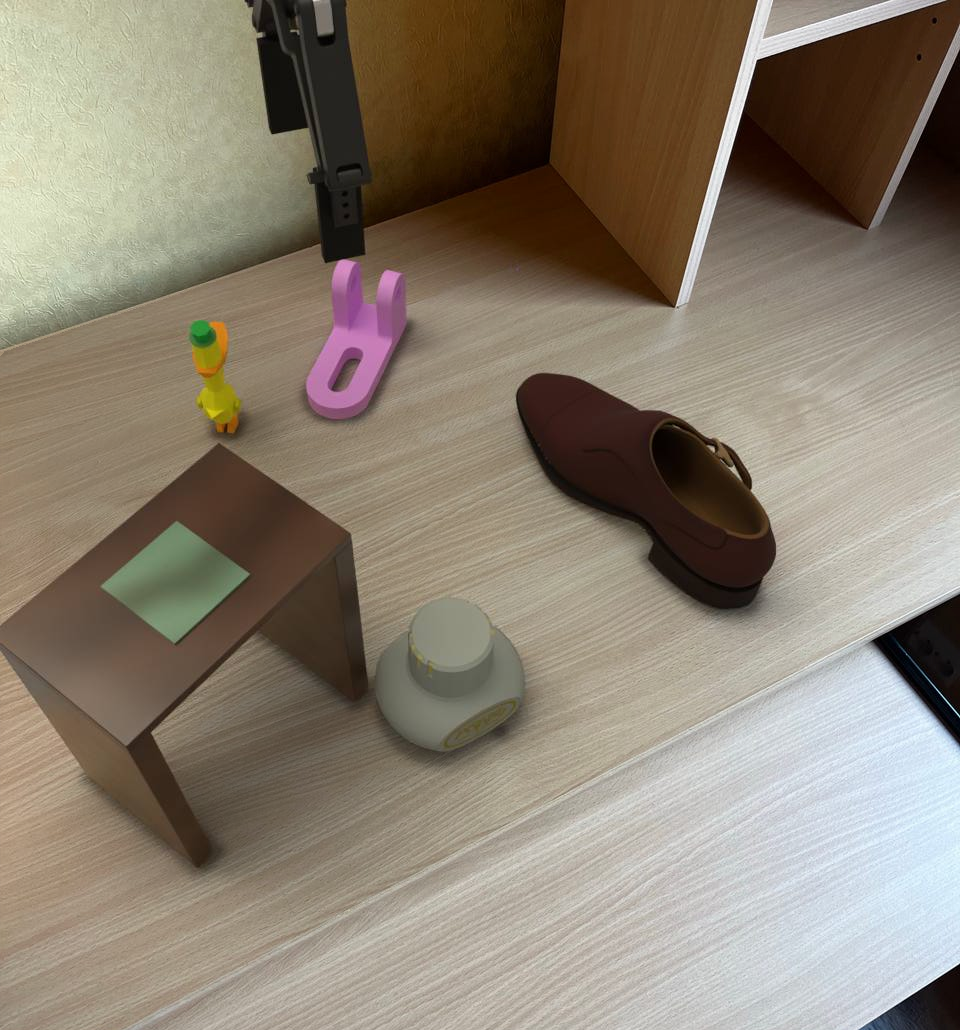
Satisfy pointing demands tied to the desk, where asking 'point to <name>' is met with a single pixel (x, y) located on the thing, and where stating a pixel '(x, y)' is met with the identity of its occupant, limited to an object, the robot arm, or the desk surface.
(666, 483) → the dress shoe
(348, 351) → the bracket
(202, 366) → the toy figure
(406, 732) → the air freshener
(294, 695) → the desk surface
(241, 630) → the shelf
